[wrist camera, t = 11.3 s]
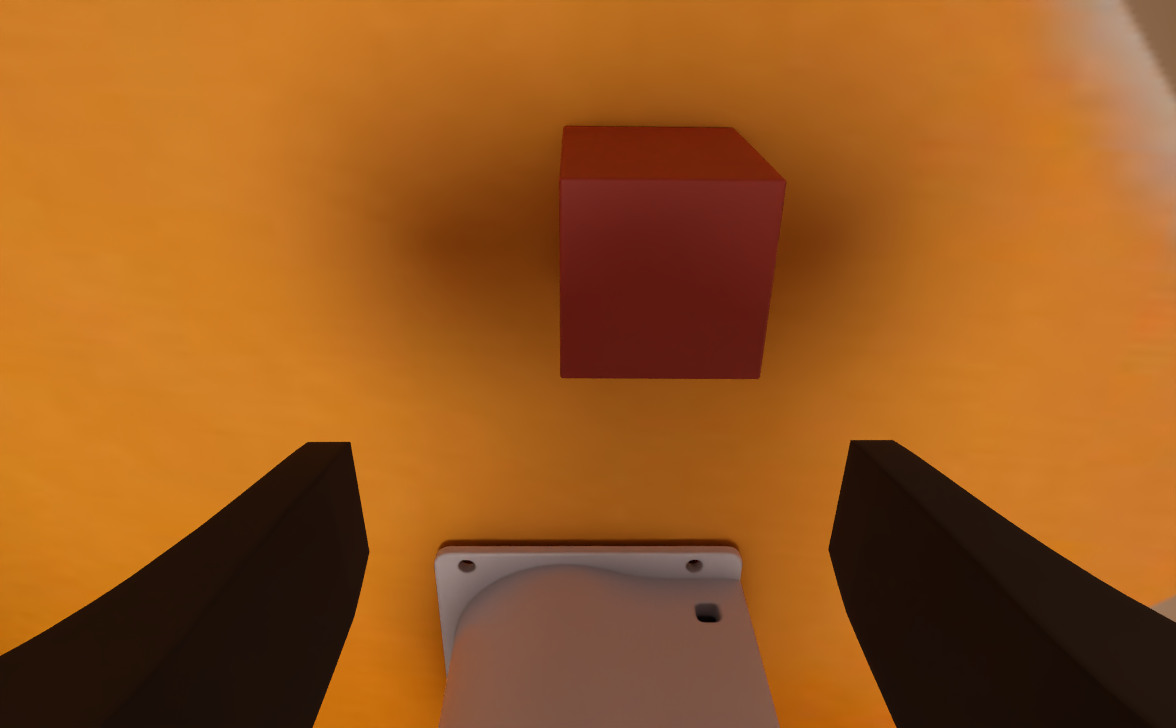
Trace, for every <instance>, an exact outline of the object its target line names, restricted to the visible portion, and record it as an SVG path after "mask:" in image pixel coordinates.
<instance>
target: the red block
mask: <svg viewBox="0 0 1176 728" xmlns="http://www.w3.org/2000/svg"><path fill="white" fill-rule="evenodd" d="M785 189H786V180H785V179H784V178H783V177H782V176H781V175H780V174H779V173H778V172H777V171H776V170H775V169H774V168H773V167H772V166H771V165H770V164H769V163H768V162H767V161H766V160H765V159H764V158H763V157H762V156H761V155H760V154H759V153H758V152H757V151H756V150H755V149H754V148H753V147H752V146H751V145H750V144H749V143H748V142H747V141H746V140H745V139H744V138H743V137H742V136H741V135H740V134H739V133H738V132H737V131H736V130H735V129H733V128H700V127H598V126H565V127H564V129H563V139H562V152H561V164H560V176H559V247H560V376H561V378H648V379H759V377H760V373H761V365H762V358H763V351H764V343H765V336H766V329H767V321H768V314H769V307H770V299H771V292H772V285H773V277H774V270H775V263H776V255H777V248H778V241H779V233H780V226H781V219H782V211H783V204H784V197H785Z"/></svg>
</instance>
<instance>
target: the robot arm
mask: <svg viewBox="0 0 1176 728" xmlns="http://www.w3.org/2000/svg"><path fill="white" fill-rule="evenodd" d="M828 550H829V553H830V557H831V561H832V564H833V568H834V572H835V576H836V579H837V583H838V586H839V590H840V593H841V596H842V600H843V603H844V606H845V609H846V613H847V615H848V617H849V620H850V622H851V625H852V627H853V629H854V632H855V634H856V636H857V639H858V641H859V643H860V646H861V648H862V650H863V653H864V655H865V657H866V659H867V662H868V664H869V666H870V669H871V671H872V673H873V675H874V678H875V680H876V682H877V684H878V687H879V689H880V691H881V693H882V696H883V698H884V700H885V703H886V705H887V707H888V709H889V712H890V714H891V716H892V718H893V721H894V723H895V725H896V727H897V728H1176V622H1174V621H1172V620H1170V619H1168V618H1166V617H1165V616H1163V615H1161V614H1159V613H1157V612H1156V611H1154V610H1152V609H1150V608H1148V607H1147V606H1145V605H1143V604H1141V603H1139V602H1137V601H1136V600H1134V599H1132V598H1130V597H1128V596H1127V595H1125V594H1123V593H1122V592H1120V591H1118V590H1116V589H1115V588H1113V587H1111V586H1110V585H1108V584H1106V583H1104V582H1103V581H1101V580H1099V579H1098V578H1096V577H1095V576H1093V575H1091V574H1090V573H1088V572H1087V571H1085V570H1083V569H1082V568H1080V567H1079V566H1077V565H1076V564H1074V563H1072V562H1071V561H1069V560H1068V559H1066V558H1064V557H1063V556H1061V555H1060V554H1058V553H1056V552H1055V551H1053V550H1052V549H1050V548H1049V547H1047V546H1046V545H1044V544H1043V543H1041V542H1040V541H1038V540H1037V539H1035V538H1034V537H1032V536H1031V535H1029V534H1028V533H1026V532H1025V531H1023V530H1022V529H1020V528H1019V527H1017V526H1016V525H1014V524H1013V523H1011V522H1010V521H1008V520H1007V519H1006V518H1004V517H1003V516H1001V515H1000V514H998V513H997V512H996V511H994V510H993V509H991V508H990V507H988V506H987V505H986V504H984V503H983V502H981V501H980V500H978V499H977V498H976V497H974V496H973V495H971V494H970V493H969V492H967V491H966V490H964V489H963V488H962V487H960V486H959V485H957V484H956V483H955V482H953V481H952V480H951V479H949V478H948V477H946V476H945V475H944V474H942V473H941V472H939V471H938V470H937V469H935V468H934V467H932V466H931V465H929V464H928V463H927V462H925V461H924V460H922V459H921V458H920V457H918V456H917V455H915V454H914V453H912V452H911V451H909V450H908V449H906V448H905V447H903V446H901V445H900V444H898V443H897V442H895V441H893V440H851V442H850V446H849V451H848V456H847V461H846V466H845V471H844V476H843V481H842V485H841V490H840V495H839V500H838V505H837V510H836V515H835V520H834V524H833V529H832V534H831V539H830V544H829V549H828ZM368 556H369V547H368V541H367V535H366V530H365V524H364V518H363V512H362V507H361V501H360V495H359V489H358V484H357V478H356V472H355V466H354V461H353V455H352V449H351V443H350V442H307V443H306V444H304V445H303V446H302V447H300V448H299V449H297V450H296V451H295V452H293V453H292V454H291V455H290V456H288V457H287V458H286V459H285V460H283V461H282V462H281V463H279V464H278V465H277V466H276V467H275V468H273V469H272V470H271V471H270V472H268V473H267V474H266V475H265V476H263V477H262V478H261V479H260V480H258V481H257V482H256V483H255V484H253V485H252V486H251V487H250V488H248V489H247V490H246V491H245V492H243V493H242V494H241V495H240V496H238V497H237V498H236V499H235V500H233V501H232V502H231V503H230V504H228V505H227V506H226V507H224V508H223V509H222V510H221V511H219V512H218V513H217V514H216V515H214V516H213V517H212V518H210V519H209V520H208V521H207V522H205V523H204V524H203V525H202V526H200V527H199V528H198V529H196V530H195V531H193V532H192V533H191V534H189V535H188V536H187V537H185V538H184V539H182V540H181V541H180V542H178V543H177V544H175V545H174V546H173V547H171V548H170V549H169V550H167V551H166V552H164V553H163V554H162V555H160V556H159V557H157V558H156V559H155V560H153V561H152V562H151V563H149V564H148V565H146V566H145V567H144V568H142V569H141V570H139V571H138V572H137V573H135V574H134V575H133V576H131V577H130V578H128V579H127V580H125V581H124V582H122V583H121V584H119V585H118V586H116V587H115V588H113V589H112V590H110V591H109V592H107V593H106V594H104V595H102V596H101V597H99V598H98V599H96V600H95V601H93V602H92V603H90V604H88V605H87V606H85V607H84V608H82V609H80V610H79V611H77V612H75V613H74V614H72V615H70V616H69V617H67V618H66V619H64V620H62V621H61V622H59V623H57V624H56V625H54V626H53V627H51V628H49V629H48V630H46V631H44V632H42V633H41V634H39V635H37V636H36V637H34V638H32V639H30V640H29V641H27V642H25V643H23V644H21V645H20V646H18V647H16V648H14V649H12V650H10V651H9V652H7V653H5V654H3V655H1V656H0V728H313V725H314V722H315V720H316V717H317V715H318V712H319V709H320V707H321V704H322V701H323V699H324V696H325V694H326V691H327V688H328V686H329V683H330V680H331V678H332V675H333V672H334V670H335V667H336V665H337V662H338V659H339V656H340V654H341V651H342V648H343V646H344V643H345V640H346V638H347V635H348V632H349V629H350V627H351V624H352V621H353V618H354V616H355V612H356V607H357V603H358V599H359V595H360V591H361V587H362V583H363V578H364V574H365V569H366V565H367V560H368ZM462 560H470V561H472V562H473V563H471V564H467V563H464V562H462ZM690 560H699V561H698V562H697V563H693V564H690V563H688V562H689V561H690ZM434 568H435V577H436V586H437V595H438V604H439V613H440V622H441V631H442V640H443V649H444V658H445V667H446V676H447V683H446V688H445V694H444V699H443V705H442V710H441V716H440V721H439V727H438V728H780V726H779V722H778V719H777V715H776V711H775V708H774V704H773V700H772V696H771V693H770V689H769V685H768V682H767V678H766V674H765V670H764V667H763V663H762V659H761V656H760V652H759V648H758V644H757V641H756V637H755V633H754V630H753V626H752V622H751V618H750V615H749V611H748V607H747V604H746V600H745V596H744V592H743V589H742V585H741V581H740V578H741V571H742V559H741V556H740V553H739V552H738V550H737V549H735V548H733V547H729V546H448V547H444V548H442V549H440V550H439V551H438V553H437V554H436V558H435V564H434Z"/></svg>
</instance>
